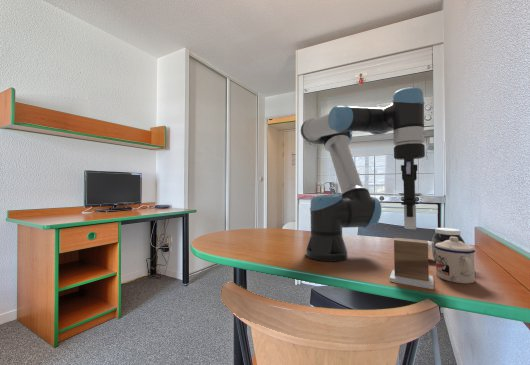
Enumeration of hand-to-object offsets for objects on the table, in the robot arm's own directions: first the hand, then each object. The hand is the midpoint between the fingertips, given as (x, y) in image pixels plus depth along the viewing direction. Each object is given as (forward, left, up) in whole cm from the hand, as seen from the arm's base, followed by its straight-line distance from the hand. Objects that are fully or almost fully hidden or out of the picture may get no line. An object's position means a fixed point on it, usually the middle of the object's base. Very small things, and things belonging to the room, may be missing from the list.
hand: (410, 227), depth 68 cm
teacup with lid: (+11, +7, -15) cm, 19 cm away
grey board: (0, 0, -15) cm, 15 cm away
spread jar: (+8, +24, -15) cm, 29 cm away
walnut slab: (0, 0, -14) cm, 14 cm away
